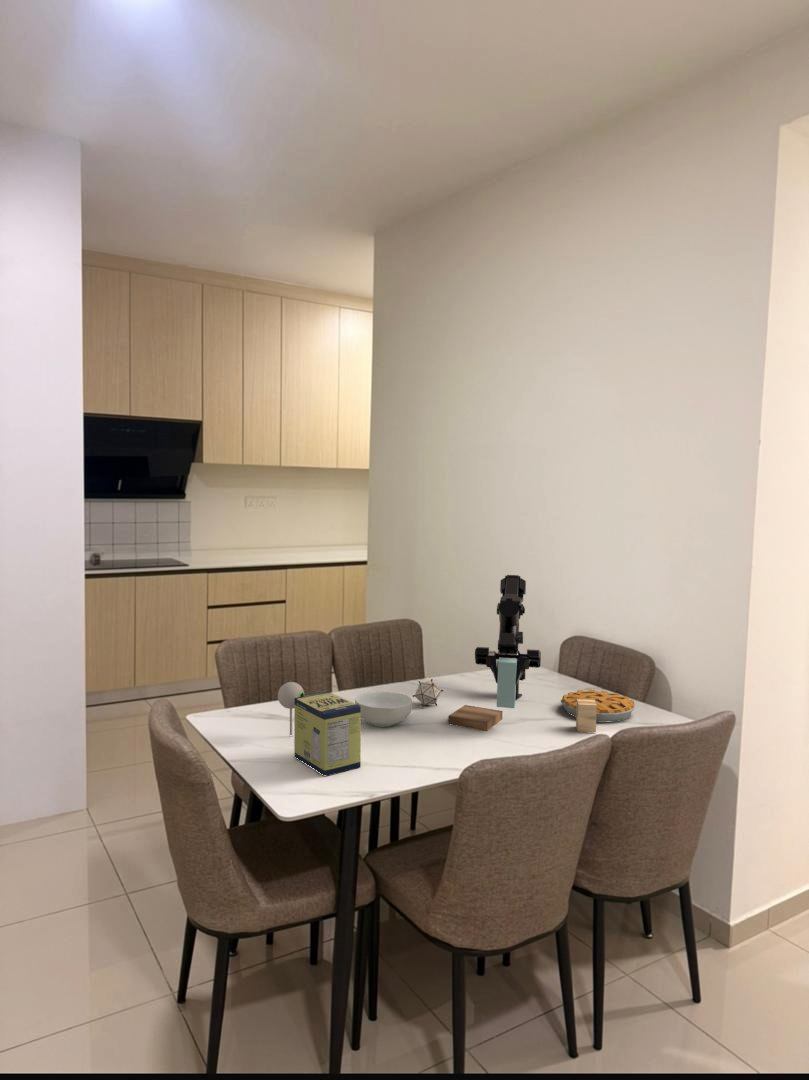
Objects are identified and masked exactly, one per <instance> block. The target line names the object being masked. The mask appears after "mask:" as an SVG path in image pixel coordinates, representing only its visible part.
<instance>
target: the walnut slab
mask: <svg viewBox="0 0 809 1080" xmlns="http://www.w3.org/2000/svg"><path fill="white" fill-rule="evenodd" d="M503 711H504V710H499V709H498V710H497V709H493V708H486V707H480V706H474V705H467V704H464V705H463V706H461V707H460V708H458V709H456V710H455V711H453V712H451V714H449V715H448V717H447V718H448V722H447V723H448V725H450V724H451V726H456V725H457V727H461V726H462V727H461V728H467V729H473V730H479V731H484V732H488V731H490V730H491V729H492V728H493V727H494V726H495V725H497V724H498V723H500V722H501V721H502V720H503Z"/></svg>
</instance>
